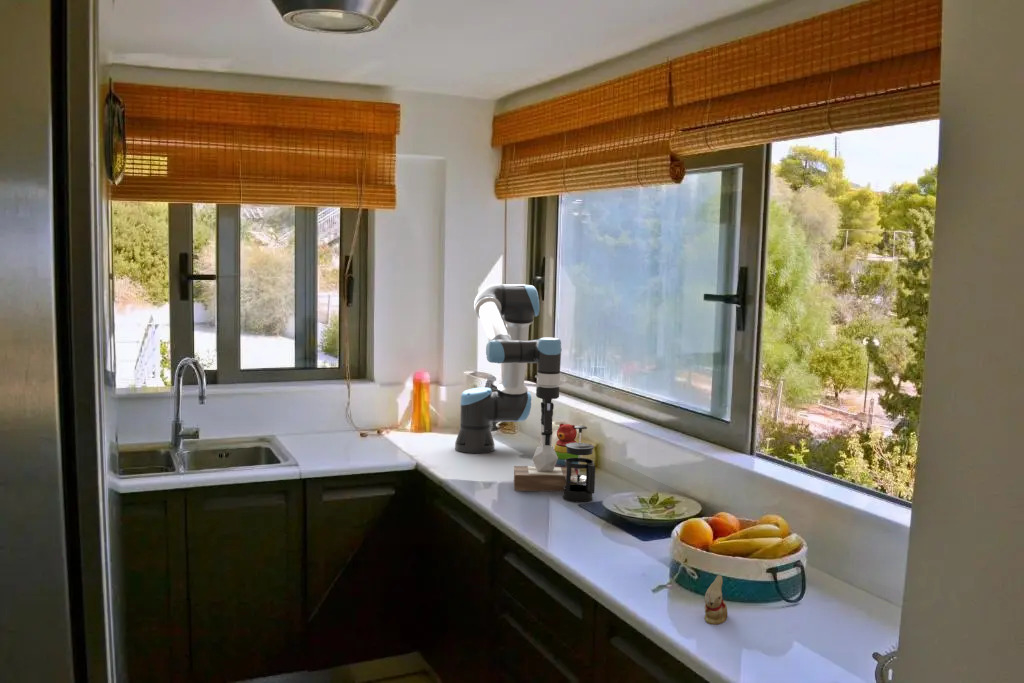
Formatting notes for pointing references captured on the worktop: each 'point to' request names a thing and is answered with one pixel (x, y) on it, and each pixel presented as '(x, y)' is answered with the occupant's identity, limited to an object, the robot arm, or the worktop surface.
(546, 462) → the die
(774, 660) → the worktop surface
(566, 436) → the stacking bear
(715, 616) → the chocolate bunny
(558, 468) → the block
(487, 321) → the robot arm
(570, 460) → the french press
